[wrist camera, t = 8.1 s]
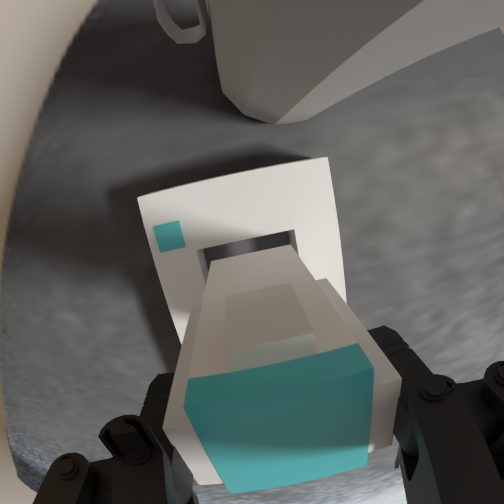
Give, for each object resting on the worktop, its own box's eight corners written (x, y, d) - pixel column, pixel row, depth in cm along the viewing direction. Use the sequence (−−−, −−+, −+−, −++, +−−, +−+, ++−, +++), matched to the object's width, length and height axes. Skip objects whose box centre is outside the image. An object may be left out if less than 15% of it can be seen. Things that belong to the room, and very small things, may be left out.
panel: (237, 453, 25) (238, 477, 22) (151, 192, 18) (136, 197, 15) (341, 431, 25) (350, 454, 22) (312, 158, 18) (328, 156, 15)
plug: (229, 329, 16) (230, 493, 7) (208, 249, 15) (173, 387, 5) (301, 314, 16) (366, 465, 7) (288, 232, 15) (374, 344, 6)
